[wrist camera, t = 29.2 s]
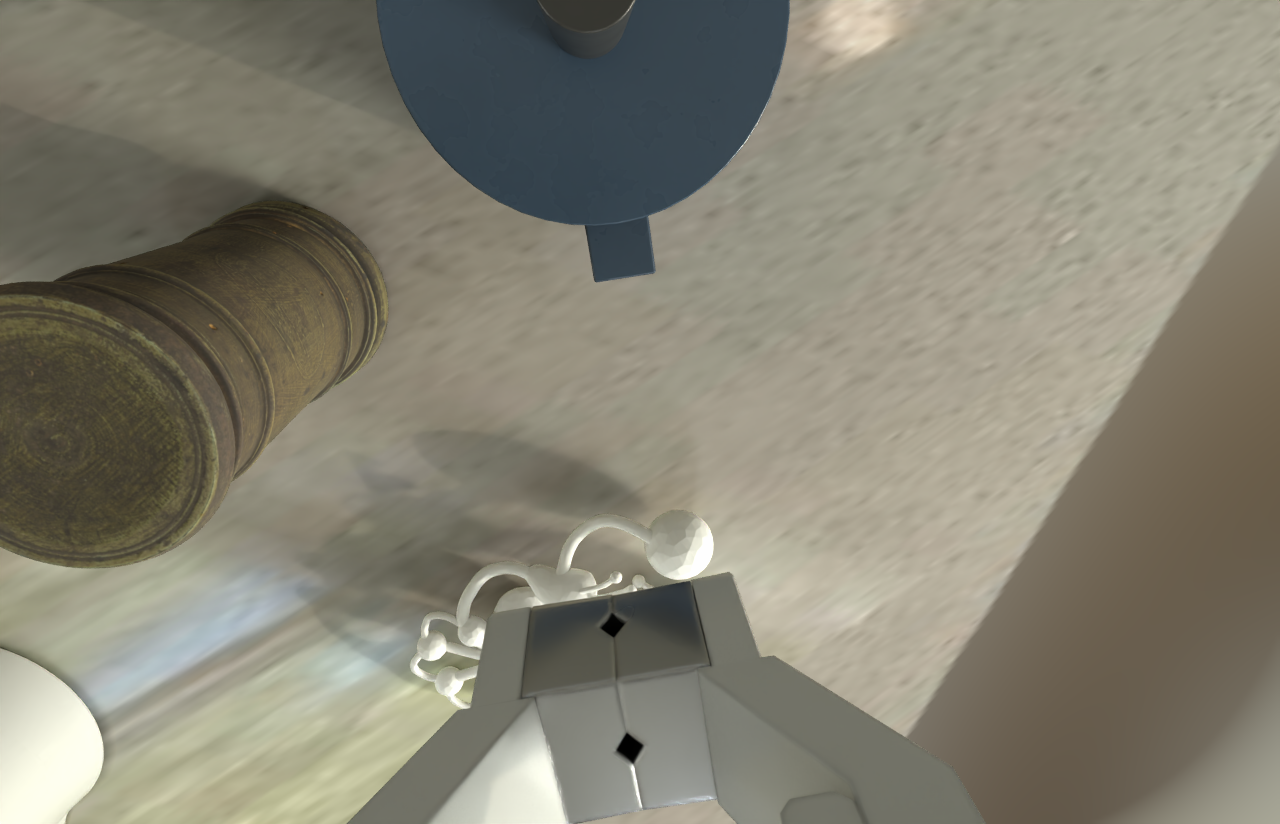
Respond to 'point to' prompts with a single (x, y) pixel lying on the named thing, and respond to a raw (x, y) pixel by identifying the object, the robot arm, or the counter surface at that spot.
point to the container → (171, 378)
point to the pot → (620, 249)
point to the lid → (585, 95)
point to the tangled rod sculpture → (562, 586)
